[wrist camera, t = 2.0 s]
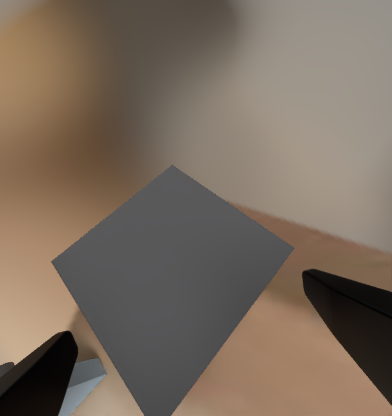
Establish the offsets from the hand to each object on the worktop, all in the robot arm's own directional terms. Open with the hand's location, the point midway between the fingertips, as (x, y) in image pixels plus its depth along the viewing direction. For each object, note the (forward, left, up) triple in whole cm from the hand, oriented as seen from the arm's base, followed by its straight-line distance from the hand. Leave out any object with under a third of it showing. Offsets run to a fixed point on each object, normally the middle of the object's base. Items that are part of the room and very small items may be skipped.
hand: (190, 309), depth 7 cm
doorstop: (+1, -1, -9) cm, 9 cm away
